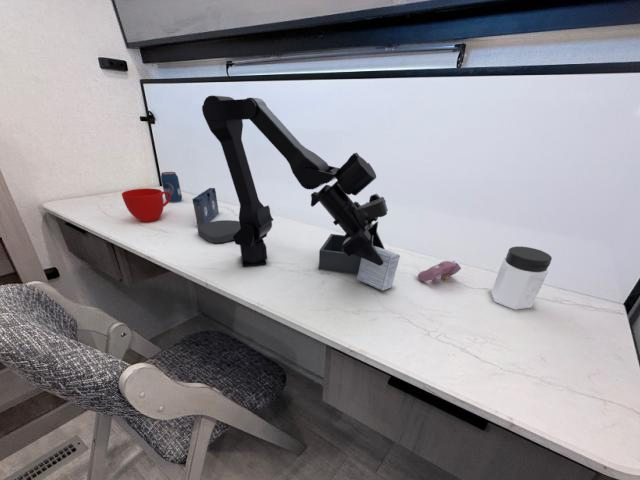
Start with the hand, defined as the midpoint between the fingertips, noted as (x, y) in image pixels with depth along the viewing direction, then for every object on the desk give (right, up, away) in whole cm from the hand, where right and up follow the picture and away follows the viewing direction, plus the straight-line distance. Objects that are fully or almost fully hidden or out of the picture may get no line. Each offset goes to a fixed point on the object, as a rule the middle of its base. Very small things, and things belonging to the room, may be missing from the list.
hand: (383, 258), depth 74 cm
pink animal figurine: (+16, -5, +6) cm, 18 cm away
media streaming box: (-48, +12, +30) cm, 58 cm away
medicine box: (-2, -6, +3) cm, 7 cm away
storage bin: (-7, +1, +14) cm, 16 cm away
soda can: (-82, +35, +65) cm, 111 cm away
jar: (+30, -10, -1) cm, 32 cm away
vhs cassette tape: (-58, +21, +44) cm, 76 cm away
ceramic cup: (-79, +21, +43) cm, 92 cm away
